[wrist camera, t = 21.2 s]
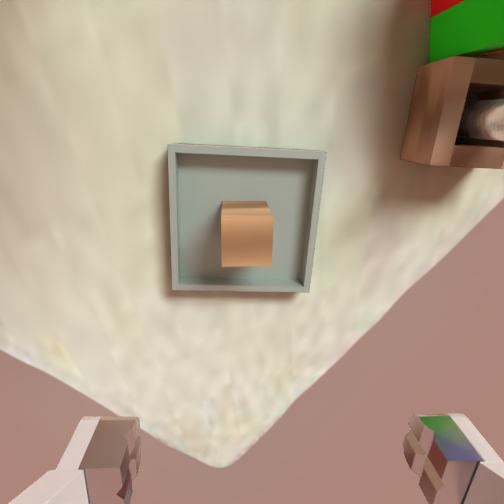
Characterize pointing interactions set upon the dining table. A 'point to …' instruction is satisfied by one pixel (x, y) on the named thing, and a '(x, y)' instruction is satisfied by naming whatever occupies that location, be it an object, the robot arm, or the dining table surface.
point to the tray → (242, 189)
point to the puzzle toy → (466, 28)
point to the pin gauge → (482, 120)
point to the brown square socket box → (452, 113)
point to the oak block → (246, 233)
